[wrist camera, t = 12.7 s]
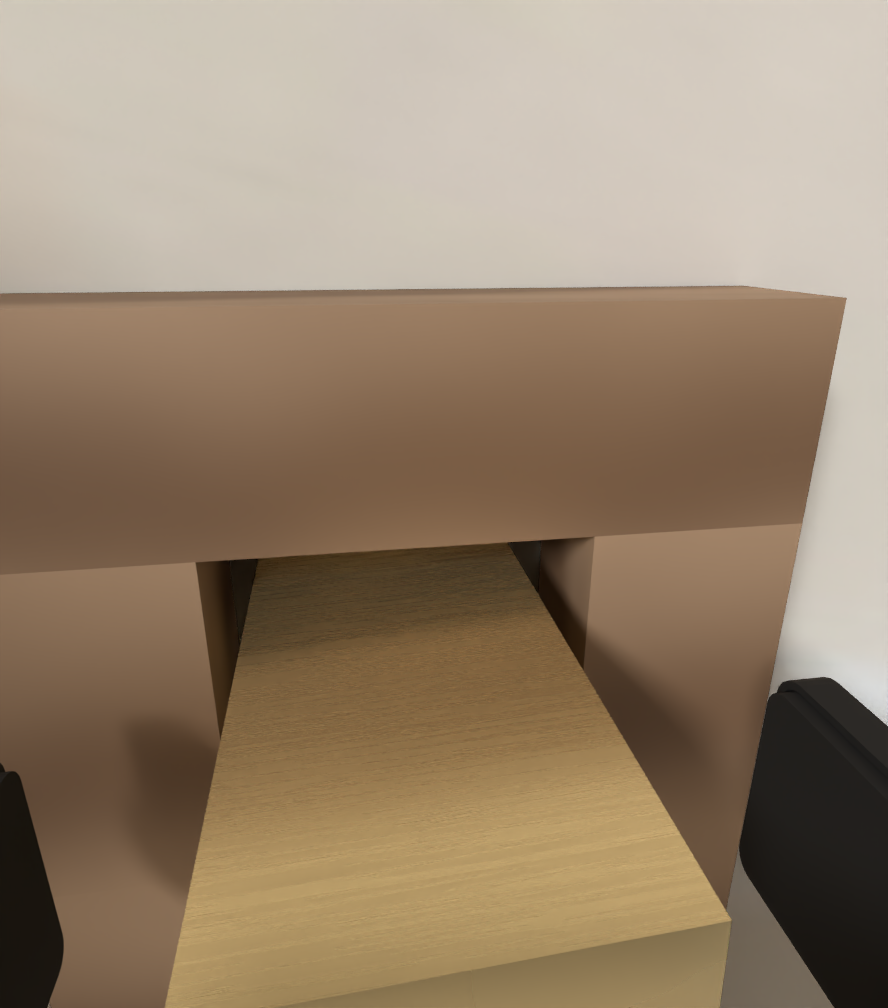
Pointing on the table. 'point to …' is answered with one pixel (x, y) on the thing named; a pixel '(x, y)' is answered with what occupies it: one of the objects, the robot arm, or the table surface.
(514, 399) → the socket block
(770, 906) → the robot arm
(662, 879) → the square peg
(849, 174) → the table surface
